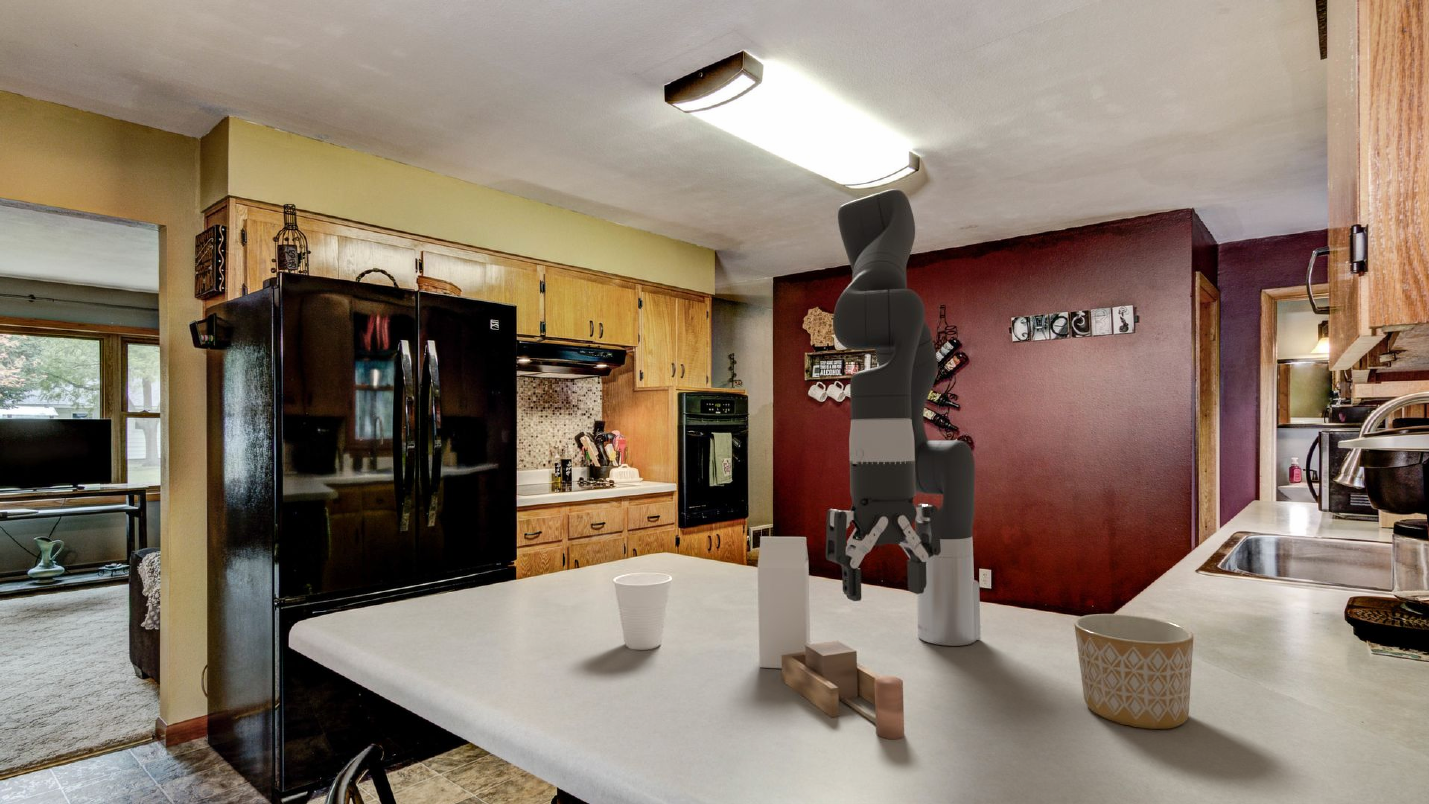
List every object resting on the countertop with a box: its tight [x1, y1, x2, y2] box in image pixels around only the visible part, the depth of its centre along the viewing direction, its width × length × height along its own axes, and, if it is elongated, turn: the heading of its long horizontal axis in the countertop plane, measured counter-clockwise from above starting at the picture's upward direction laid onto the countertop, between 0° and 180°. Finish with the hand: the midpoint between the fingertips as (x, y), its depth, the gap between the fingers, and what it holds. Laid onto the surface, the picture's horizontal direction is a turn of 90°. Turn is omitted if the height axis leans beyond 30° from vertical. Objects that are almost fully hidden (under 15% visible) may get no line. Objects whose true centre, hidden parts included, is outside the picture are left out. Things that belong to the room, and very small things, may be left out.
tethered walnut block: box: [805, 640, 905, 740], centre depth 88 cm, size 18×5×6 cm, turn 20°
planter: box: [1073, 613, 1194, 730], centre depth 86 cm, size 13×13×10 cm
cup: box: [612, 572, 673, 651], centre depth 117 cm, size 10×10×11 cm
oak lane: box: [781, 652, 880, 718], centre depth 94 cm, size 14×8×4 cm, turn 20°
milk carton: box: [757, 536, 811, 669], centre depth 108 cm, size 7×7×19 cm
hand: (885, 596), depth 82 cm, fingers open, 8 cm apart
